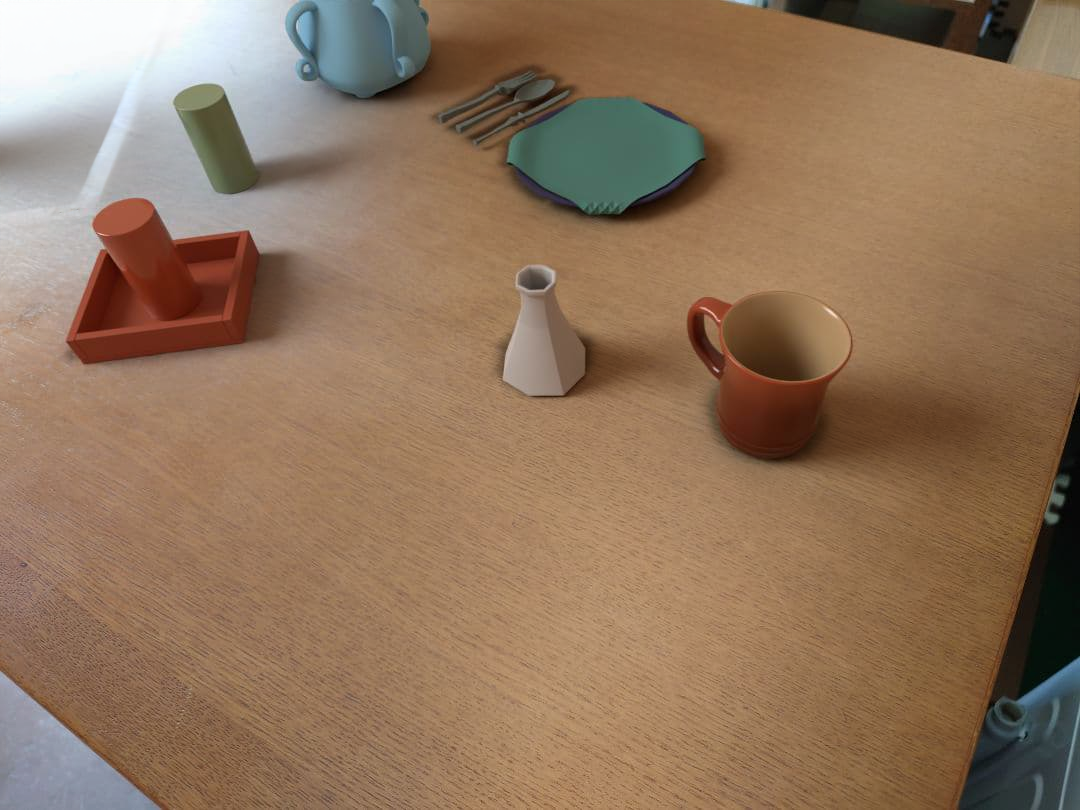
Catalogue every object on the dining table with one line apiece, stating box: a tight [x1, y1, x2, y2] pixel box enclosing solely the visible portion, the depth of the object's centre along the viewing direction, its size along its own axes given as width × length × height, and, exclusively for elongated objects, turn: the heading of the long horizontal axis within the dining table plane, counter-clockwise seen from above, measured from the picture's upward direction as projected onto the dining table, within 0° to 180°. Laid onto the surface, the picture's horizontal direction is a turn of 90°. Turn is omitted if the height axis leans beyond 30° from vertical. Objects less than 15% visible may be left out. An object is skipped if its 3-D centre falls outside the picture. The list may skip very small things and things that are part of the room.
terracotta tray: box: [65, 229, 260, 365], centre depth 73 cm, size 15×13×3 cm
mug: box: [686, 290, 854, 460], centre depth 57 cm, size 12×9×10 cm
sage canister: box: [172, 82, 259, 195], centre depth 83 cm, size 5×5×10 cm
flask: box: [502, 264, 586, 397], centre depth 62 cm, size 7×7×10 cm
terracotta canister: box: [92, 197, 202, 321], centre depth 70 cm, size 5×5×10 cm
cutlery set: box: [437, 70, 707, 216], centre depth 85 cm, size 20×30×2 cm, turn 41°
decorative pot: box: [284, 0, 432, 99], centre depth 95 cm, size 16×16×14 cm
